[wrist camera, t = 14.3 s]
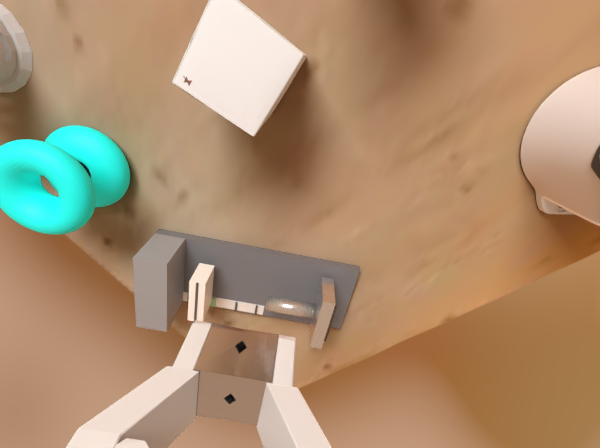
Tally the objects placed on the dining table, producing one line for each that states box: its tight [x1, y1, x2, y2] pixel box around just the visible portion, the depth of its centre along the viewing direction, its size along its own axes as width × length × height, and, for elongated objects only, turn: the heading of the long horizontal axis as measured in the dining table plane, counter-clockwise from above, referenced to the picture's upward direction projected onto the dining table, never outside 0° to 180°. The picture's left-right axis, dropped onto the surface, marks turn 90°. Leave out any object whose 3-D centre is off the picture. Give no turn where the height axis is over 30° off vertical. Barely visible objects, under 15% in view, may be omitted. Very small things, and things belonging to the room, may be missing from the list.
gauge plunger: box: [265, 277, 337, 349], centre depth 44 cm, size 9×8×5 cm
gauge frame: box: [133, 229, 360, 332], centre depth 44 cm, size 28×11×7 cm, turn 79°
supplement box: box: [172, 0, 307, 137], centre depth 29 cm, size 7×7×13 cm
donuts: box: [0, 125, 130, 234], centre depth 36 cm, size 10×10×10 cm
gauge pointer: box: [188, 263, 214, 321], centre depth 43 cm, size 2×6×4 cm, turn 169°
